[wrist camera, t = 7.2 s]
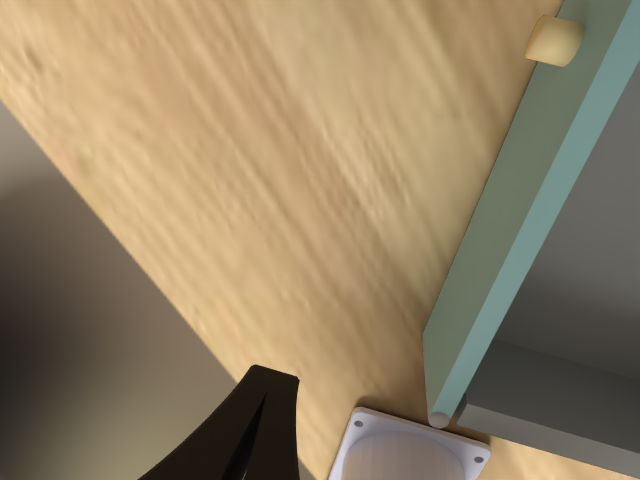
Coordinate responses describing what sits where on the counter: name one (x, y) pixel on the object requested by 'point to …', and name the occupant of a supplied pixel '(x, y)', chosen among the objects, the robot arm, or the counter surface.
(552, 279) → the grey open box
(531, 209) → the door
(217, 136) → the counter surface
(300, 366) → the counter surface
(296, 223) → the counter surface
